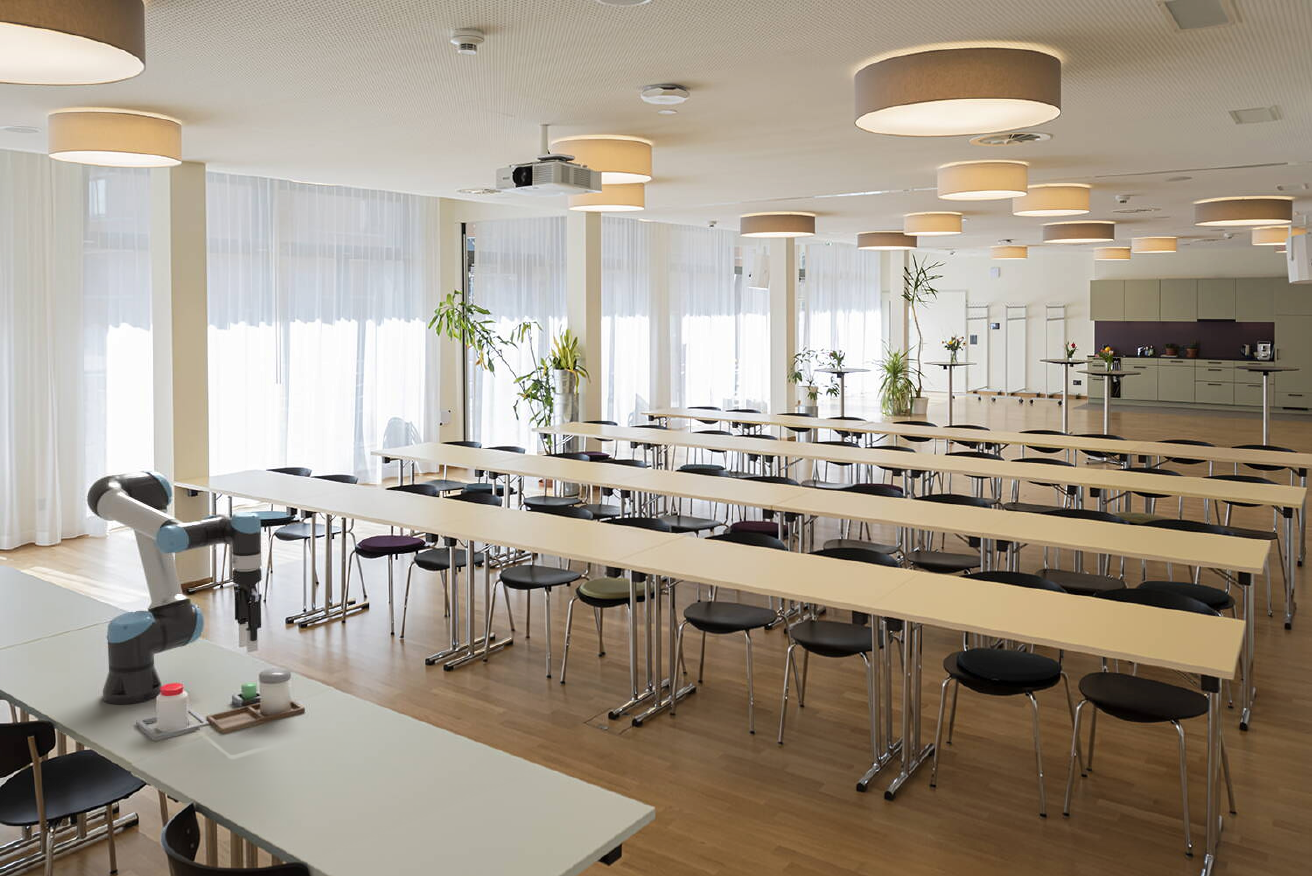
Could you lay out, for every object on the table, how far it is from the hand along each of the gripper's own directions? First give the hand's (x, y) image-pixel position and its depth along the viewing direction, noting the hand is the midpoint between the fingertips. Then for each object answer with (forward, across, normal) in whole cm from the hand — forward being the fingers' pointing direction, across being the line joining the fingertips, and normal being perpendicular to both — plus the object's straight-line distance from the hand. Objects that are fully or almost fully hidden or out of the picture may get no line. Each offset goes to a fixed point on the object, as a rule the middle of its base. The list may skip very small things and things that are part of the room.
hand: (248, 648), depth 281 cm
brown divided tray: (+17, +10, -2) cm, 20 cm away
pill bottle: (+17, +1, -21) cm, 27 cm away
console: (+17, 0, 0) cm, 17 cm away
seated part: (+16, +10, +3) cm, 19 cm away
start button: (+15, 0, 0) cm, 15 cm away
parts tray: (+17, +1, -21) cm, 27 cm away
